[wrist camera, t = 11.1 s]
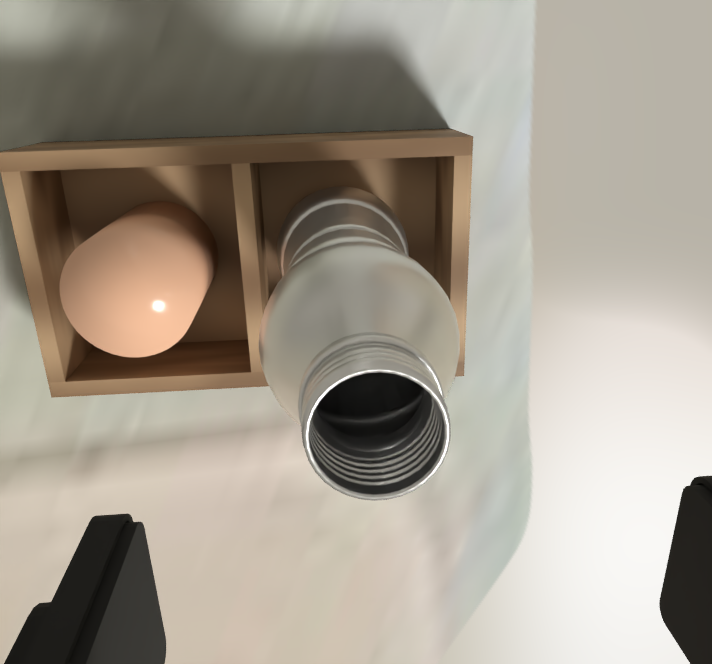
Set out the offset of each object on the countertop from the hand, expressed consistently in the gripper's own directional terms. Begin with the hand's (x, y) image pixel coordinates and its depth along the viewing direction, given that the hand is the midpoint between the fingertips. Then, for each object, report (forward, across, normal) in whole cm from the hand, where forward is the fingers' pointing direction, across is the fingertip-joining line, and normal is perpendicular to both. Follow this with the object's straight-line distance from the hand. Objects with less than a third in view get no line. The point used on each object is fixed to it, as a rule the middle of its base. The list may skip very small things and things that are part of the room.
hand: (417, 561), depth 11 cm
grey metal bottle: (+25, 0, +1) cm, 25 cm away
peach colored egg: (+24, +10, +1) cm, 26 cm away
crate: (+25, +5, +1) cm, 25 cm away
